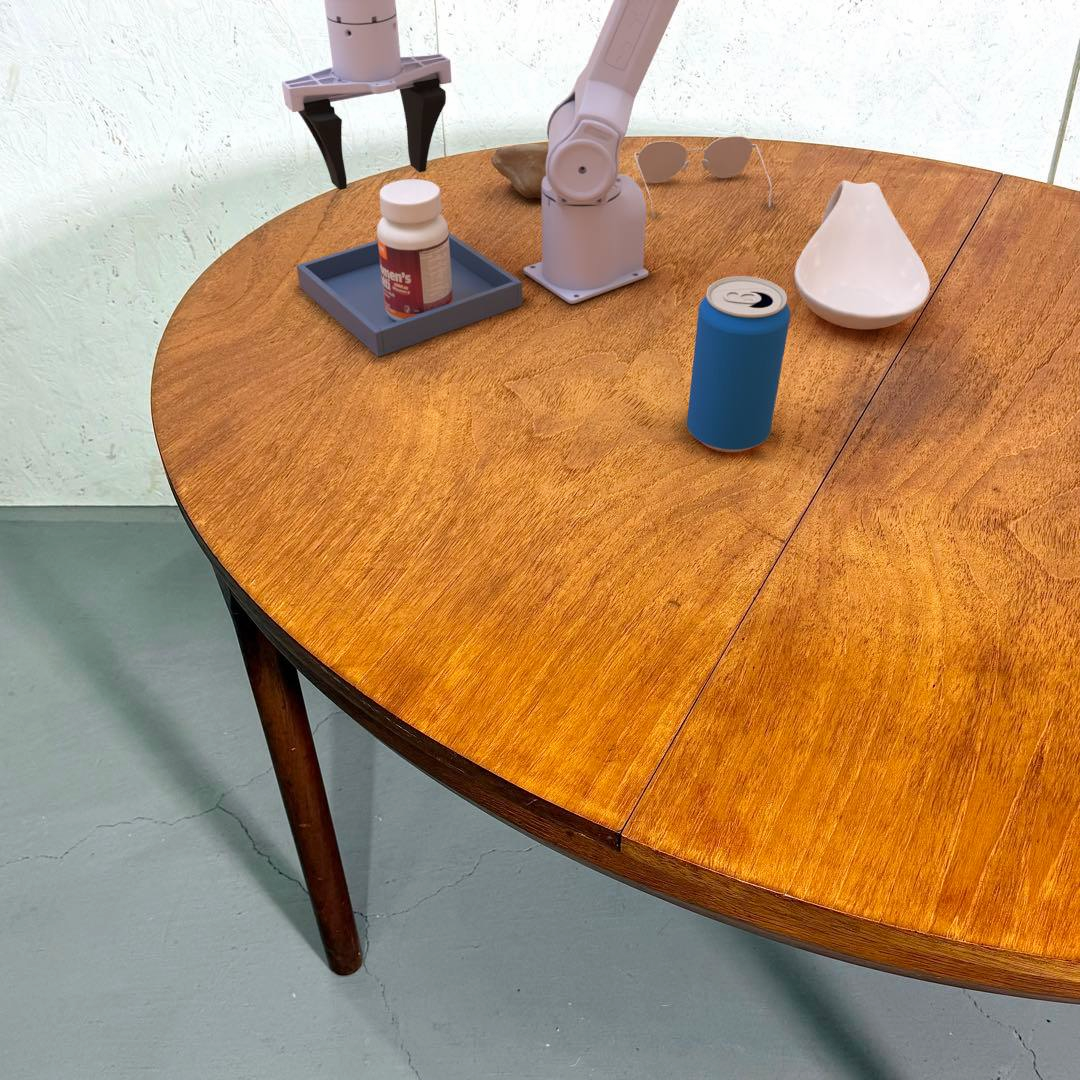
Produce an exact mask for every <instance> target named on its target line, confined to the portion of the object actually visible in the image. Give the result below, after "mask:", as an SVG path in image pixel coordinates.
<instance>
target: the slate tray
mask: <svg viewBox="0 0 1080 1080" xmlns="http://www.w3.org/2000/svg"><path fill="white" fill-rule="evenodd" d="M449 248H450V264H451V280H452V296H453V302H452V303H450V304H447V305H444V306H441V307H438V308H435V309H432V310H429V311H426V312H424V313H421V314H418V315H415V316H412V317H409V318H406V319H403V320H400V321H398V322H396V321H395V320H393V319H392V318H390V316H389V315H388V314H387V312H386V309H385V302H384V293H383V285H382V276H381V267H380V256H379V247H378V239H377V240H374V241H371V242H367V243H364V244H360V245H358V246H354V247H351V248H348V249H344V250H341V251H338V252H333V253H332V254H327V255H324V256H321V257H318V258H314V259H312V260H308V261H305V262H302V263H298V264H296V265H295V266H296V270H297V271H296V273H297V276H298V283H299V289H301V290H302V291H303V293H305V294H306V295H307V296H308V297H309V298H311V299H312V301H314V302H316V304H318V305H319V306H320V307H321V308H322V309H324V311H326V313H328V314H329V315H330V316H331V317H332V318H334V319H335V320H336V322H338V323H339V324H340V325H341V326H342V327H344V329H346V330H347V331H348V332H350V334H351V335H353V336H354V337H355V338H356V339H357V340H358V341H359V342H361V343H362V344H363V345H364V346H365V347H367V349H369V350H370V351H371V352H372V353H373V354H374V355H375V356H376V357H377V358H380V357H383V356H386V355H389V354H391V353H394V352H396V351H400V350H403V349H404V348H407V347H411V346H413V345H416V344H419V343H422V342H424V341H427V340H430V339H433V338H435V337H438V336H441V335H444V334H446V333H449V332H452V331H455V330H458V329H460V328H463V327H467V326H469V325H472V324H474V323H477V322H480V321H482V320H486V319H488V318H492V317H494V316H496V315H499V314H502V313H505V312H507V311H511V310H513V309H516V308H519V307H521V306H523V303H524V301H523V281H521V280H520V279H519V278H518V277H516V276H514V275H513V274H511V273H510V272H508V271H507V270H506V269H504V268H503V267H501V266H500V265H498V264H497V263H496V262H494V261H492V260H491V259H489V258H488V257H487V256H485V255H483V254H482V253H480V252H479V251H478V250H476V249H475V248H473V247H472V246H470V245H468V244H467V243H465V241H463V240H461V239H460V238H458V237H457V236H455V235H454V234H453V233H451V232H449Z"/></svg>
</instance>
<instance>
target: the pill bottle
mask: <svg viewBox="0 0 1080 1080" xmlns="http://www.w3.org/2000/svg"><path fill="white" fill-rule="evenodd" d="M441 195H442V194H441V189H440V187H439V186H438V184H436V183H435V182H432V181H430V180H425V179H418V178H417V179H416V178H409V179H400V180H395V181H391V182H390V183H387V184H385V185H384V186H382V187H381V189H380V190H379V204H380V205H379V209H380V214H381V216H382V217H381V218H380V220H379V221H378V223H377V227H376V235H377V236H376V237H377V240H378V247H379V256H380V267H381V276H382V285H383V293H384V302H385V309H386V312H387V314H388V315H389V316H390V318H392V319H393V320H395V321H396V322H398V321H400V320H403V319H406V318H409V317H412V316H415V315H418V314H421V313H424V312H426V311H429V310H432V309H435V308H438V307H441V306H444V305H447V304H450V303H452V302H453V296H452V280H451V264H450V248H449V233H450V232H449V224H448V222H447V220H446V218H445V217H444V216H443V215H442V214H441V213H442V212H443V205H442V196H441Z"/></svg>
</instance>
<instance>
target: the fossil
mask: <svg viewBox="0 0 1080 1080" xmlns="http://www.w3.org/2000/svg"><path fill="white" fill-rule="evenodd" d="M547 155H548V145H545V144H540V143H520V144H513V145H507V146H500V147H498V148H497V149H496V150H495V152H494V154H492V155H491V157H490V161H491V164H492V166H493V167H494V168H495V169H496V171H497V172H499V174H500V175H501V176H502V177H505V178H506V179H508V180H509V181H510V184H511V185H512V187H513V188H514V189H515V190H516V192H517V193H519V194H520V195H522V196H523V197H525V198H526V199H541V200H542V180H543V178H544V177H545V176H546V170H545V167H546V159H547Z"/></svg>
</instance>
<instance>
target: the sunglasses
mask: <svg viewBox="0 0 1080 1080" xmlns="http://www.w3.org/2000/svg"><path fill="white" fill-rule="evenodd" d="M753 148H755V149H756V152H757V153H758V156H759V159H760V161H761V163H762V166H763V168H764V171H765V173H766V177H767V180H768V183H769V195H768V196H769V197H768V208H771V204H772V203H771V202H772V187H773V186H772V182H771V179H770V176H769V174H768V172H767V168H766V166H765V162H764V160H763V157H762V155H761V151H760V148H759V147H758V145H757V144H756V143H752V142H751V140H750V139H749V138H747V137H746V136H742V135H732V136H731V135H730V136H723V137H720V138H717V139H715V140H713V141H712V142H711V143H709V144H708V145H707V147H706V148H691V149H688V150H687V148H685V146H684V145H683V144H681V142H677V141H673V140H659V141H658V140H657V141H652V142H650V143H647V144H646V145H644V146H643V147H642V148H641V150H639V151H638V152H634V155H633V158H634V160H635V163H636V166H637V168H638V172H639V174H640V177H641V178H642V181H643V183H644V187H645V189H646V191H647V194H648V197H649V200H650V201H649V202H650V205H651V211H652V216H653V217H655V215H654V207H653V202H652V197H651V193H650V191H649V187H648V185H647V184H646V182H647V183H653V184H660V183H664V182H667V181H669V180H671V179H672V178H674V177H675V176H676V175H677V174H678V173H679V172H682V173H684V171H685V170H686V169H687V168H688V166H689V164H690V160H688V159H687V158H688V153H690V152H693V151H704V152H703V159H702V160H701V164H702V167H703V169H704V170H705V171H708V172H709V173H710V174H711V176H714V177H716V178H720V179H727V178H732V177H735V176H737V175H738V174H740V173H741V172H742V171H744V169H745V167H746V166H748V165H747V164H748V162H749V160H750V158H751V155H752V152H753Z"/></svg>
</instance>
